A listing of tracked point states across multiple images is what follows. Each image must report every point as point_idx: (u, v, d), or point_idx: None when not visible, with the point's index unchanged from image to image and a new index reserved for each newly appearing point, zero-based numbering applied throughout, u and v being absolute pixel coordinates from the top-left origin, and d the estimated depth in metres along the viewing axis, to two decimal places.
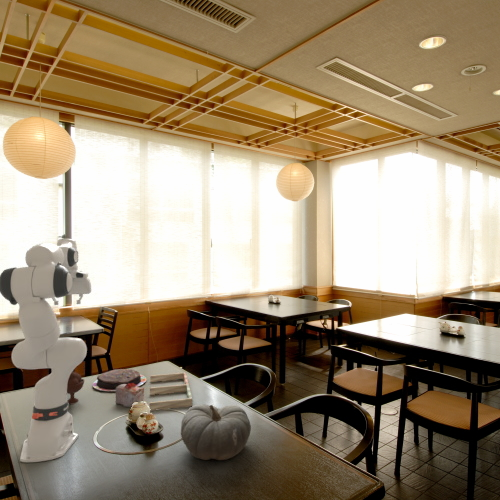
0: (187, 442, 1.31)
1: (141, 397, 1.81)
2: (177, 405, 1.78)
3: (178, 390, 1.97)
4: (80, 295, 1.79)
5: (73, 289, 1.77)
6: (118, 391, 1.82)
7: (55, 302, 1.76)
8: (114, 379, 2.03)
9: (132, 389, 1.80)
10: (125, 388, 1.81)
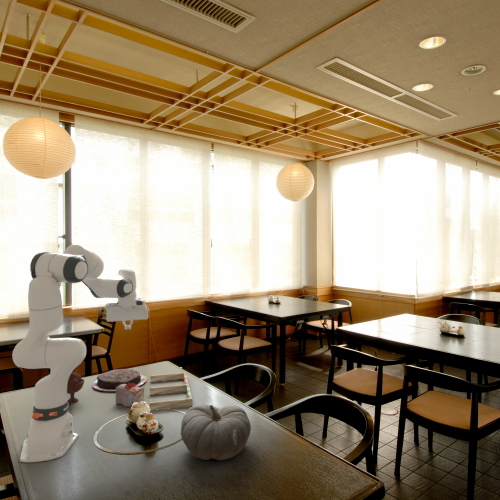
0: (187, 442, 1.31)
1: (141, 397, 1.81)
2: (177, 405, 1.78)
3: (178, 390, 1.97)
4: (131, 321, 1.95)
5: (133, 315, 1.94)
6: (118, 391, 1.82)
7: (125, 327, 1.94)
8: (114, 379, 2.03)
9: (132, 389, 1.80)
10: (125, 388, 1.81)
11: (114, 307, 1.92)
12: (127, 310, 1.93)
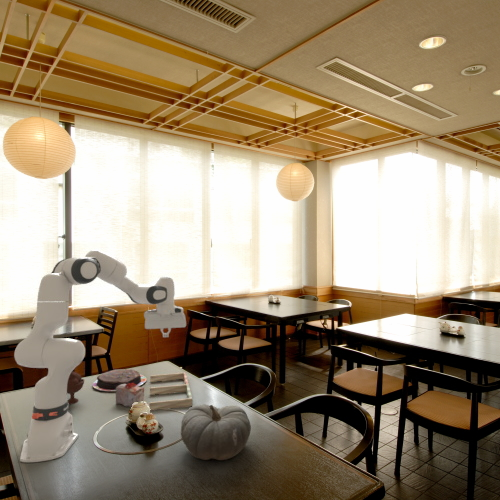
0: (187, 442, 1.31)
1: (141, 397, 1.82)
2: (177, 405, 1.78)
3: (178, 390, 1.97)
4: (169, 329, 1.94)
5: (171, 323, 1.93)
6: (118, 391, 1.82)
7: (163, 335, 1.93)
8: (114, 379, 2.03)
9: (132, 389, 1.80)
10: (125, 388, 1.82)
11: (153, 314, 1.92)
12: (165, 318, 1.93)
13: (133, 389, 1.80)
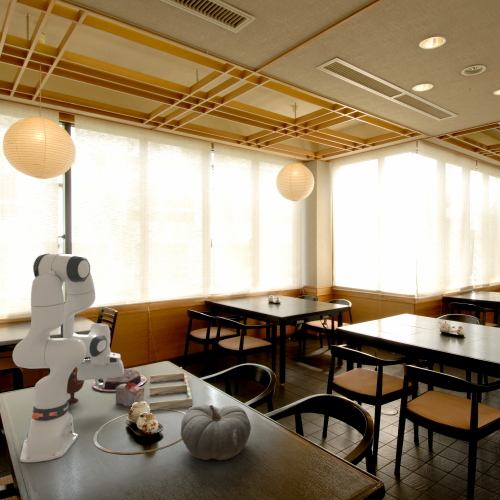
0: (187, 442, 1.31)
1: (141, 397, 1.82)
2: (177, 405, 1.78)
3: (178, 390, 1.97)
4: (104, 379, 1.80)
5: (106, 373, 1.79)
6: (118, 391, 1.82)
7: (98, 385, 1.79)
8: (114, 379, 2.03)
9: (132, 389, 1.80)
10: (125, 388, 1.82)
11: (86, 365, 1.77)
12: (100, 368, 1.78)
13: (133, 389, 1.80)
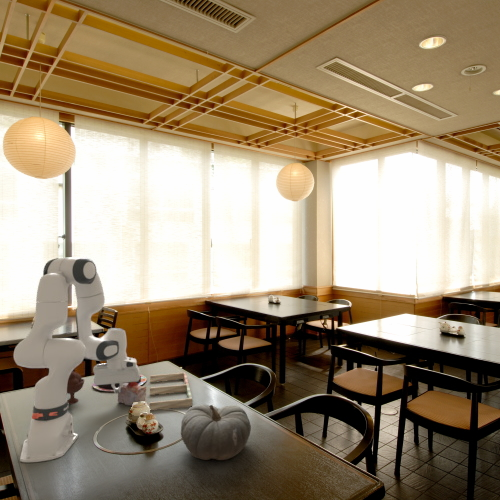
0: (187, 442, 1.31)
1: (143, 396, 1.82)
2: (177, 405, 1.78)
3: (178, 390, 1.97)
4: (120, 384, 1.81)
5: (123, 377, 1.81)
6: None
7: (115, 390, 1.81)
8: None
9: (134, 388, 1.81)
10: (127, 387, 1.82)
11: (102, 369, 1.78)
12: (116, 372, 1.80)
13: (135, 388, 1.81)
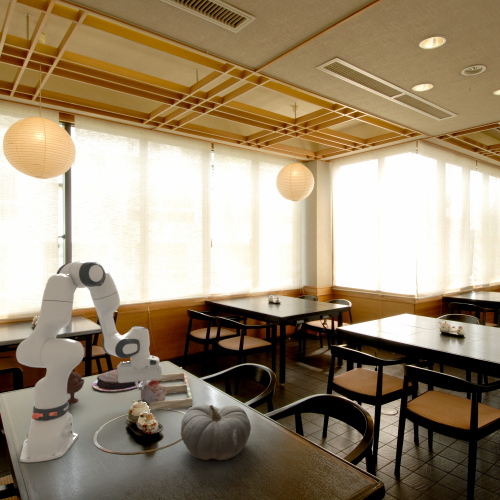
0: (187, 442, 1.31)
1: (162, 395, 1.83)
2: (177, 405, 1.78)
3: (178, 390, 1.97)
4: (144, 381, 1.84)
5: (146, 375, 1.83)
6: None
7: (138, 388, 1.83)
8: (114, 379, 2.03)
9: (153, 387, 1.83)
10: (148, 385, 1.85)
11: (126, 367, 1.81)
12: (140, 370, 1.83)
13: (154, 387, 1.82)
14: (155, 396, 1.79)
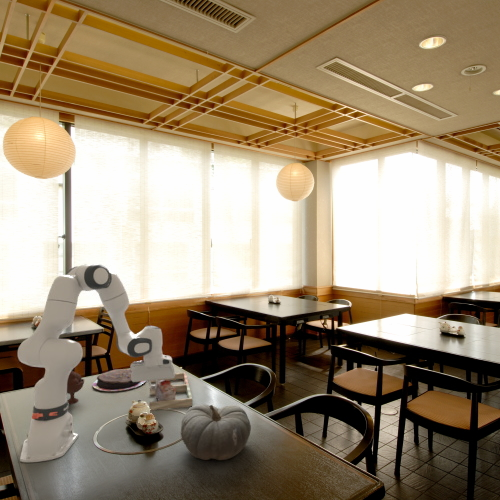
0: (187, 442, 1.31)
1: (171, 396, 1.82)
2: (177, 405, 1.78)
3: (178, 390, 1.97)
4: (156, 380, 1.85)
5: (159, 374, 1.84)
6: (156, 386, 1.88)
7: (151, 387, 1.84)
8: (114, 379, 2.03)
9: (163, 386, 1.83)
10: (159, 384, 1.86)
11: (140, 366, 1.82)
12: (153, 369, 1.84)
13: (164, 387, 1.82)
14: (163, 396, 1.79)
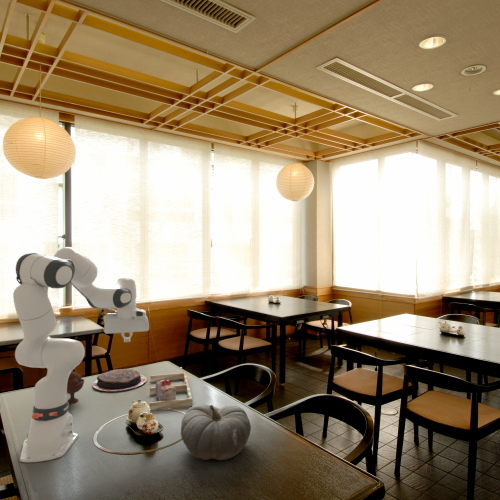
0: (187, 442, 1.31)
1: (172, 396, 1.82)
2: (177, 405, 1.78)
3: (178, 390, 1.97)
4: (130, 333, 1.83)
5: (132, 327, 1.83)
6: (156, 386, 1.88)
7: (125, 339, 1.83)
8: (114, 379, 2.03)
9: (164, 387, 1.83)
10: (160, 384, 1.86)
11: (113, 318, 1.81)
12: (126, 321, 1.82)
13: (164, 387, 1.82)
14: (164, 396, 1.79)
